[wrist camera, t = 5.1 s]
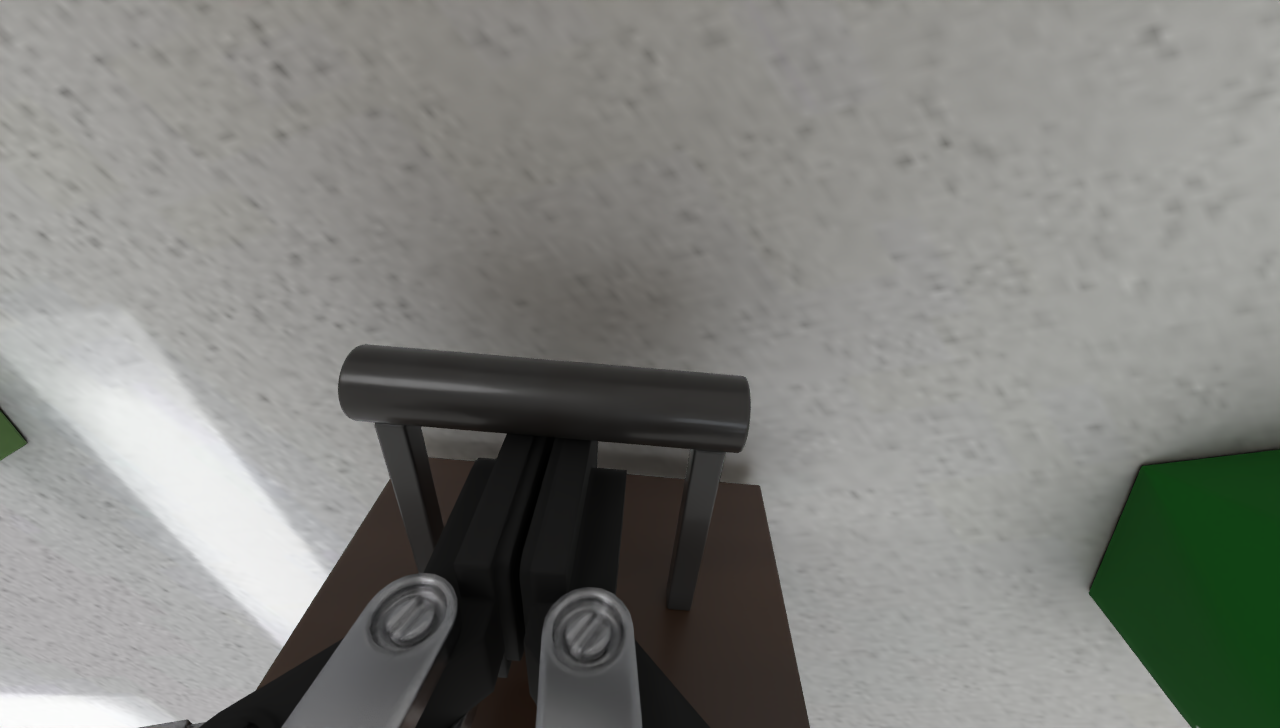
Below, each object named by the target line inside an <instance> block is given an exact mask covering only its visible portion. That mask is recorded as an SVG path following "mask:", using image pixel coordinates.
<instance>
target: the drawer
mask: <svg viewBox="0 0 1280 728" xmlns="http://www.w3.org/2000/svg"><path fill="white" fill-rule="evenodd" d="M338 394H339V401H340V405H341V408H342V410H343V412H344V413H345V414H346V416H348V417H349V418H351V419H352V420H355V421H365V422H375V428H376V432H377V435H378V439H379V442H380V445H381V449H382V452H383V455H384V459H385V462H386V465H387V469H388V472H389V475H390V480H389V481H388V483H387V485H386V486H385V488H384V489H383V491H382V493H381V494H380V496H379V497H378V499H377V500H376V502H375V504H374V505H373V507H372V508H371V510H370V511H369V513H368V515H367V516H366V518H365V519H364V521H363V522H362V524H361V526H360V527H359V529H358V530H357V532H356V533H355V535H354V537H353V538H352V540H351V541H350V543H349V544H348V546H347V548H346V549H345V551H344V552H343V554H342V556H341V557H340V559H339V560H338V562H337V563H336V565H335V567H334V568H333V570H332V571H331V573H330V574H329V576H328V578H327V579H326V581H325V582H324V584H323V585H322V587H321V589H320V590H319V592H318V593H317V595H316V596H315V598H314V600H313V601H312V603H311V604H310V606H309V607H308V609H307V611H306V612H305V614H304V615H303V617H302V618H301V620H300V622H299V623H298V625H297V626H296V628H295V630H294V631H293V633H292V634H291V636H290V637H289V639H288V641H287V642H286V644H285V645H284V647H283V648H282V650H281V652H280V653H279V655H278V656H277V658H276V659H275V661H274V663H273V664H272V666H271V667H270V669H269V670H268V672H267V674H266V675H265V677H264V678H263V680H262V681H261V683H260V685H259V686H258V688H257V689H256V690H258V689H259V688H261V687H263V686H264V685H266V684H268V683H269V682H271V681H273V680H274V679H276V678H278V677H279V676H281V675H283V674H284V673H286V672H288V671H289V670H291V669H293V668H294V667H296V666H298V665H299V664H301V663H303V662H304V661H306V660H308V659H309V658H311V657H313V656H314V655H316V654H318V653H319V652H321V651H323V650H324V649H326V648H328V647H329V646H331V645H333V644H334V643H336V642H338V641H339V640H341V639H343V638H344V637H345V636H346V634H347V633H348V632H349V630H350V629H351V627H352V626H353V624H354V623H355V622H356V620H357V619H358V617H359V616H360V614H361V613H362V612H363V610H364V609H365V607H366V606H367V604H368V603H369V602H370V601H371V600H372V599H373V597H374V596H375V595H376V594H377V593H378V592H379V591H380V590H382V589H383V588H384V587H386V586H387V585H388V584H390V583H391V582H393V581H395V580H397V579H400V578H402V577H404V576H407V575H412V574H417V573H424V570H425V568H426V566H427V564H428V562H429V560H430V557H431V555H432V553H433V551H434V549H435V547H436V544H437V542H438V540H439V538H440V536H441V533H442V531H443V529H444V527H445V525H446V523H447V520H448V518H449V516H450V514H451V512H452V510H453V507H454V505H455V503H456V501H457V499H458V496H459V494H460V492H461V490H462V488H463V486H464V483H465V481H466V479H467V477H468V475H469V473H470V470H471V468H472V466H473V464H474V463H475V461H465V460H454V459H442V458H430V457H428V455H427V451H426V446H425V442H424V438H423V433H422V429H421V426H424V427H436V428H448V429H459V430H471V431H483V432H495V433H507V434H519V435H531V436H542V437H554V438H566V439H578V440H590V441H602V442H614V443H625V444H637V445H649V446H661V447H673V448H685V449H690V452H689V458H688V464H687V470H686V476H685V479H679V478H667V477H655V476H643V475H631V474H627V477H626V490H625V502H624V514H623V525H622V536H621V547H620V557H619V568H618V578H617V589H616V596H617V597H618V598H619V599H620V600H622V601H623V603H624V604H625V606H626V607H627V609H628V611H629V612H630V615H631V619H632V623H633V628H634V639H635V640H636V641H637V642H638V644H639V645H640V646H641V647H642V648H643V649H644V651H645V652H646V653H647V654H648V655H649V656H650V658H651V659H652V660H653V661H654V662H655V663H656V665H657V666H658V667H659V668H660V669H661V670H662V672H663V673H664V674H665V675H666V676H667V678H668V679H669V680H670V681H671V682H672V683H673V685H674V686H675V687H676V688H677V689H678V690H679V692H680V693H681V694H682V695H683V696H684V697H685V699H686V700H687V701H688V702H689V703H690V704H691V706H692V707H693V708H694V709H695V710H696V711H697V713H698V714H699V715H700V716H701V717H702V718H703V720H704V721H705V722H706V723H707V724H708V725H709V727H710V728H810V725H809V720H808V715H807V711H806V706H805V701H804V696H803V691H802V686H801V682H800V677H799V672H798V667H797V662H796V657H795V653H794V648H793V643H792V638H791V633H790V628H789V624H788V619H787V614H786V609H785V604H784V599H783V595H782V590H781V585H780V580H779V575H778V570H777V566H776V561H775V556H774V551H773V546H772V541H771V537H770V532H769V527H768V522H767V517H766V512H765V508H764V503H763V498H762V493H761V488H760V486H759V485H750V484H738V483H726V482H719V481H720V477H721V472H722V468H723V463H724V459H725V454H726V452H732V453H739V452H741V451H742V450H743V448H744V446H745V443H746V440H747V436H748V431H749V424H750V411H751V399H750V389H749V384H748V381H747V379H746V378H745V377H744V376H737V375H725V374H713V373H701V372H689V371H677V370H665V369H653V368H641V367H630V366H618V365H606V364H594V363H582V362H570V361H558V360H546V359H534V358H522V357H510V356H499V355H487V354H475V353H463V352H451V351H439V350H427V349H415V348H403V347H391V346H380V345H368V344H364V345H360V346H358V347H356V348H355V349H353V350H352V351H351V352H350V353H349V355H348V356H347V358H346V360H345V361H344V364H343V366H342V369H341V372H340V377H339V384H338ZM536 716H537V705H536V703H535V702H534V700H533V699H532V697H531V696H530V692H529V684H528V675H527V666H526V658H525V649H524V653H523V656H522V659H521V661H512V662H511V666H510V669H509V673H508V677H507V678H501V677H497V681H496V685H495V689H494V692H492V693H491V694H490V695H488V696H487V697H486V698H485V699H483V700H482V701H481V702H480V703H479V704H478V708H477V711H476V715H475V717H474V720H473V722H472V725H471V727H470V728H536Z"/></svg>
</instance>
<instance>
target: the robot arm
mask: <svg viewBox="0 0 1280 728" xmlns="http://www.w3.org/2000/svg"><path fill="white" fill-rule="evenodd" d="M597 452H598V441H590V440H578V439H566V438H554V437H542V436H531V435H519V434H507V435H506V438H505V440H504V442H503V445H502V447H501V450H500V452H499V455H498V457H497V459H486V458H478V459H477V460H476V461H475V463H474V464H473V466H472V468H471V470H470V473H469V475H468V477H467V479H466V481H465V483H464V486H463V488H462V490H461V492H460V494H459V496H458V499H457V501H456V503H455V505H454V507H453V510H452V512H451V514H450V516H449V518H448V520H447V523H446V525H445V527H444V529H443V531H442V533H441V536H440V538H439V540H438V542H437V544H436V547H435V549H434V551H433V553H432V555H431V557H430V560H429V562H428V564H427V566H426V568H425V570H424V573H417V574H412V575H407V576H404V577H402V578H400V579H397V580H395V581H393V582H391V583H390V584H388V585H387V586H386V587H384V588H383V589H382V590H380V591H379V592H378V593H377V594H376V595H375V596H374V597H373V599H372V600H371V601H370V602H369V603H368V604H367V606H366V607H365V609H364V610H363V612H362V613H361V614H360V616H359V617H358V619H357V620H356V622H355V623H354V624H353V626H352V627H351V629H350V630H349V632H348V633H347V634H346V636H345V637H344V638H343V639H341V640H339V641H338V642H336V643H334V644H333V645H331V646H329V647H328V648H326V649H324V650H323V651H321V652H319V653H318V654H316V655H314V656H313V657H311V658H309V659H308V660H306V661H304V662H303V663H301V664H299V665H298V666H296V667H294V668H293V669H291V670H289V671H288V672H286V673H284V674H283V675H281V676H279V677H278V678H276V679H274V680H273V681H271V682H269V683H268V684H266V685H264V686H263V687H261V688H259V689H258V690H256V691H254V692H253V693H251V694H249V695H248V696H246V697H244V698H243V699H241V700H239V701H238V702H236V703H234V704H233V705H231V706H229V707H228V708H226V709H224V710H223V711H221V712H219V713H218V714H217V715H215V716H214V717H212V718H211V719H210V720H208V721H207V722H204V723H198V724H192V723H191V722H190V721H189V720H182V721H176V722H170V723H164V724H158V725H152V726H146V727H140V728H470V727H471V725H472V722H473V720H474V717H475V715H476V711H477V708H478V704H479V703H480V702H481V701H482V700H483V699H485V698H486V697H487V696H488V695H490V694H491V693H492V692H494V689H495V685H496V681H497V677H501V678H507V677H508V673H509V669H510V666H511V662H512V661H521V659H522V656H523V653H524V649H525V658H526V666H527V675H528V684H529V692H530V696H531V697H532V699H533V700H534V702H535V703H536V705H537V716H536V728H710V727H709V725H708V724H707V723H706V722H705V721H704V720H703V718H702V717H701V716H700V715H699V714H698V713H697V711H696V710H695V709H694V708H693V707H692V706H691V704H690V703H689V702H688V701H687V700H686V699H685V697H684V696H683V695H682V694H681V693H680V692H679V690H678V689H677V688H676V687H675V686H674V685H673V683H672V682H671V681H670V680H669V679H668V678H667V676H666V675H665V674H664V673H663V672H662V670H661V669H660V668H659V667H658V666H657V665H656V663H655V662H654V661H653V660H652V659H651V658H650V656H649V655H648V654H647V653H646V652H645V651H644V649H643V648H642V647H641V646H640V645H639V644H638V642H637V641H636V640H635V639H634V628H633V623H632V619H631V615H630V612H629V611H628V609H627V607H626V606H625V604H624V603H623V601H622V600H620V599H619V598H618V597H617V596H616V589H617V578H618V568H619V557H620V547H621V536H622V525H623V514H624V502H625V490H626V477H627V470H616V469H604V468H597Z"/></svg>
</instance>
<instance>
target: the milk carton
mask: <svg viewBox="0 0 1280 728" xmlns="http://www.w3.org/2000/svg"><path fill="white" fill-rule="evenodd" d="M1089 595H1090V596H1091V597H1092V599H1093V600H1094V601H1095V602H1096V604H1097V605H1098V606H1099V607H1100V609H1101V610H1102V611H1103V613H1104V614H1105V615H1106V617H1107V618H1108V619H1109V620H1110V622H1111V623H1112V624H1113V626H1114V627H1115V628H1116V630H1117V631H1118V632H1119V633H1120V635H1121V636H1122V637H1123V639H1124V640H1125V641H1126V643H1127V644H1128V645H1129V647H1130V648H1131V649H1132V651H1133V652H1134V653H1135V654H1136V656H1137V657H1138V658H1139V660H1140V661H1141V662H1142V664H1143V665H1144V666H1145V668H1146V669H1147V670H1148V672H1149V673H1150V674H1151V676H1152V677H1153V678H1154V680H1155V681H1156V682H1157V684H1158V685H1159V686H1160V688H1161V689H1162V690H1163V691H1164V693H1165V694H1166V695H1167V697H1168V698H1169V699H1170V701H1171V702H1172V703H1173V704H1174V706H1175V707H1176V708H1177V710H1178V711H1179V712H1180V714H1181V715H1182V716H1183V717H1184V719H1185V720H1186V721H1187V722H1188V724H1189V725H1190V726H1191V727H1192V728H1280V449H1279V450H1271V451H1263V452H1254V453H1246V454H1238V455H1229V456H1221V457H1213V458H1205V459H1196V460H1188V461H1180V462H1171V463H1163V464H1155V465H1146V466H1142V467H1141V469H1140V471H1139V474H1138V476H1137V479H1136V481H1135V483H1134V486H1133V488H1132V491H1131V493H1130V495H1129V498H1128V500H1127V503H1126V505H1125V507H1124V510H1123V512H1122V515H1121V517H1120V519H1119V522H1118V524H1117V527H1116V529H1115V531H1114V534H1113V536H1112V539H1111V541H1110V543H1109V546H1108V548H1107V551H1106V553H1105V555H1104V558H1103V560H1102V563H1101V565H1100V567H1099V570H1098V572H1097V575H1096V577H1095V579H1094V582H1093V584H1092V587H1091V589H1090V591H1089Z"/></svg>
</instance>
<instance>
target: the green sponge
mask: <svg viewBox="0 0 1280 728" xmlns="http://www.w3.org/2000/svg"><path fill="white" fill-rule="evenodd" d="M26 444H27V442H26V441H25V440H24V438H23V437H22V436H21V435H20V433H19V432H18V431H17V430H16V429H15V427H14V426H13V425H12V424H11V423H10V421H9V420H8V419H7V418H6V417H5V415H4V414H3V413H2V412H1V410H0V460H2V459H4V458H5V457H7V456H8V455H10V454H12V453H13V452H15V451H16V450H18V449H20V448H21V447H23V446H24V445H26Z"/></svg>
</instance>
